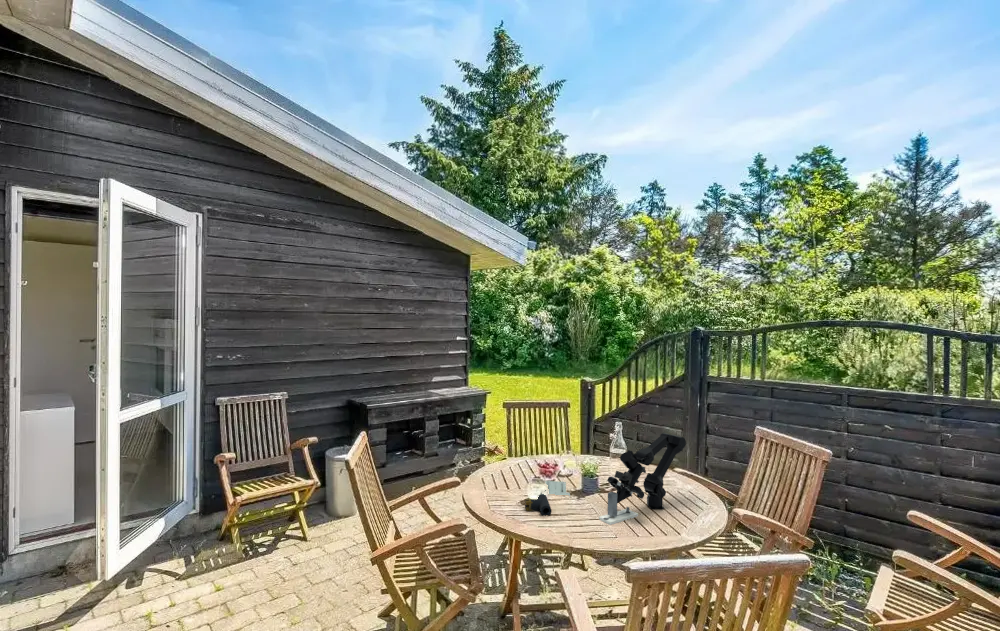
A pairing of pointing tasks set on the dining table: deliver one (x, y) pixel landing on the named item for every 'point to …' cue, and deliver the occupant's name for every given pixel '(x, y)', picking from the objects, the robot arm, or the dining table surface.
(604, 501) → the dining table surface
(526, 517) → the dining table surface
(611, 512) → the gray metal block
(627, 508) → the bolt plate
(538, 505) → the pipe connector
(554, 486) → the metal bracket
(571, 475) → the dining table surface
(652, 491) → the robot arm
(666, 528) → the dining table surface
